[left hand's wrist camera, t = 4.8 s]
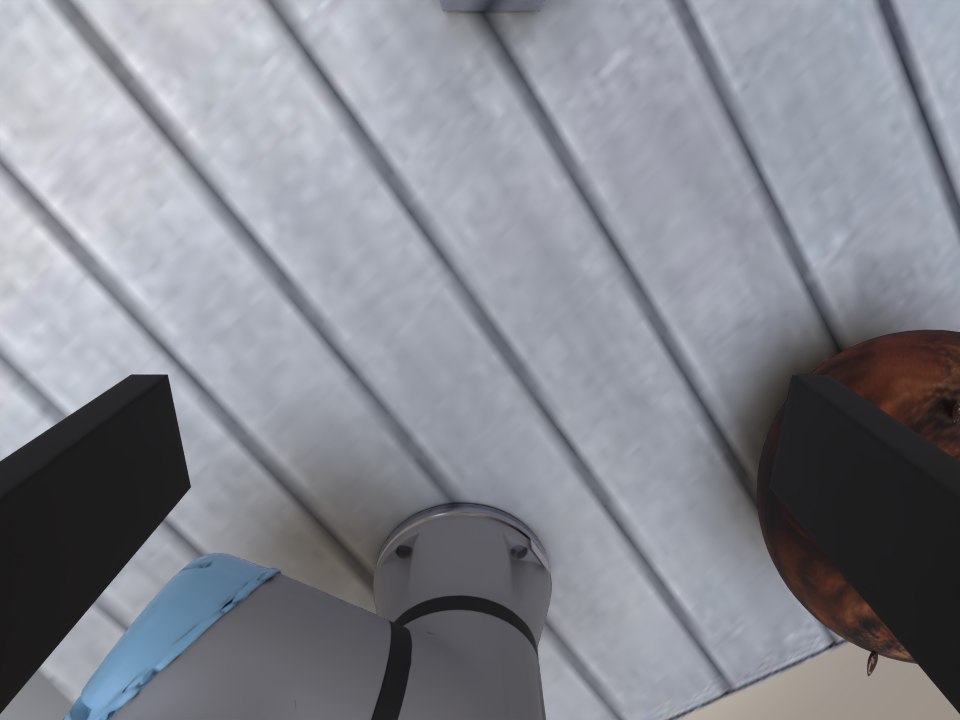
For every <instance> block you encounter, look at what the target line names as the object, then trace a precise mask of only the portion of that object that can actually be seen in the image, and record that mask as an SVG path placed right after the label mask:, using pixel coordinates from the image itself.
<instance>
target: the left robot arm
mask: <svg viewBox="0 0 960 720" xmlns="http://www.w3.org/2000/svg"><path fill="white" fill-rule="evenodd" d="M190 488H191V485H190V480H189V475H188V470H187V466H186V461H185V456H184V451H183V446H182V441H181V437H180V432H179V427H178V422H177V417H176V412H175V407H174V403H173V398H172V393H171V388H170V383H169V378H168V375H130V376H128V377H127V378H125V379H124V380H122V381H121V382H119V383H118V384H116V385H115V386H113V387H112V388H110V389H109V390H107V391H106V392H104V393H103V394H101V395H100V396H98V397H97V398H95V399H94V400H92V401H91V402H89V403H88V404H86V405H85V406H83V407H82V408H80V409H79V410H77V411H76V412H74V413H73V414H71V415H70V416H68V417H67V418H65V419H64V420H62V421H61V422H59V423H58V424H56V425H54V426H53V427H51V428H50V429H48V430H47V431H45V432H44V433H42V434H41V435H39V436H38V437H36V438H35V439H33V440H32V441H30V442H29V443H27V444H26V445H24V446H23V447H21V448H20V449H18V450H17V451H15V452H14V453H12V454H11V455H9V456H8V457H6V458H5V459H3V460H2V461H0V714H1V712H2V711H3V710H4V709H5V708H6V706H7V705H8V704H9V703H10V702H11V700H12V699H13V698H14V697H15V696H16V695H17V693H18V692H19V691H20V690H21V689H22V687H23V686H24V685H25V684H26V683H27V681H28V680H29V679H30V678H31V677H32V675H33V674H34V673H35V672H36V671H37V670H38V668H39V667H40V666H41V665H42V664H43V662H44V661H45V660H46V659H47V658H48V657H49V655H50V654H51V653H52V652H53V651H54V649H55V648H56V647H57V646H58V645H59V643H60V642H61V641H62V640H63V639H64V637H65V636H66V635H67V634H68V633H69V632H70V630H71V629H72V628H73V627H74V626H75V624H76V623H77V622H78V621H79V620H80V618H81V617H82V616H83V615H84V614H85V613H86V611H87V610H88V609H89V608H90V607H91V605H92V604H93V603H94V602H95V601H96V599H97V598H98V597H99V596H100V595H101V594H102V592H103V591H104V590H105V589H106V588H107V586H108V585H109V584H110V583H111V582H112V580H113V579H114V578H115V577H116V576H117V574H118V573H119V572H120V571H121V570H122V569H123V567H124V566H125V565H126V564H127V563H128V561H129V560H130V559H131V558H132V557H133V555H134V554H135V553H136V552H137V551H138V550H139V548H140V547H141V546H142V545H143V544H144V542H145V541H146V540H147V539H148V538H149V536H150V535H151V534H152V533H153V532H154V531H155V529H156V528H157V527H158V526H159V525H160V523H161V522H162V521H163V520H164V519H165V517H166V516H167V515H168V514H169V513H170V511H171V510H172V509H173V508H174V507H175V506H176V504H177V503H178V502H179V501H180V500H181V498H182V497H183V496H184V495H185V494H186V492H187V491H188V490H189V489H190ZM769 488H770V489H771V490H772V491H773V492H774V494H775V495H776V496H777V497H778V498H779V500H780V501H781V502H782V503H783V504H784V506H785V507H786V508H787V509H788V510H789V511H790V513H791V514H792V515H793V516H794V517H795V519H796V520H797V521H798V522H799V523H800V525H801V526H802V527H803V528H804V529H805V531H806V532H807V533H808V534H809V535H810V536H811V538H812V539H813V540H814V541H815V542H816V544H817V545H818V546H819V547H820V548H821V550H822V551H823V552H824V553H825V554H826V555H827V557H828V558H829V559H830V560H831V561H832V563H833V564H834V565H835V566H836V567H837V569H838V570H839V571H840V572H841V573H842V574H843V576H844V577H845V578H846V579H847V580H848V582H849V583H850V584H851V585H852V586H853V588H854V589H855V590H856V591H857V592H858V594H859V595H860V596H861V597H862V598H863V599H864V601H865V602H866V603H867V604H868V605H869V607H870V608H871V609H872V610H873V611H874V613H875V614H876V615H877V616H878V617H879V618H880V620H881V621H882V622H883V623H884V624H885V626H886V627H887V628H888V629H889V630H890V632H891V633H892V634H893V635H894V636H895V637H896V639H897V640H898V641H899V642H900V643H901V645H902V646H903V647H904V648H905V649H906V651H907V652H908V653H909V654H910V655H911V657H912V658H913V659H914V660H915V661H916V662H917V664H918V665H919V666H920V667H921V668H922V669H923V671H924V672H925V673H926V674H927V676H928V677H929V678H930V679H931V680H932V681H933V683H934V684H935V685H936V686H937V687H938V688H939V690H940V691H941V692H942V693H943V695H944V696H945V697H946V698H947V699H948V700H949V702H950V703H951V704H952V705H953V706H954V708H955V709H956V710H957V711H958V712H959V714H960V461H958V460H957V459H955V458H954V457H952V456H951V455H949V454H948V453H946V452H945V451H943V450H942V449H940V448H939V447H937V446H936V445H934V444H933V443H931V442H930V441H928V440H927V439H925V438H924V437H922V436H921V435H919V434H918V433H916V432H915V431H913V430H912V429H910V428H909V427H907V426H906V425H904V424H902V423H901V422H899V421H898V420H896V419H895V418H893V417H892V416H890V415H889V414H887V413H886V412H884V411H883V410H881V409H880V408H878V407H877V406H875V405H874V404H872V403H871V402H869V401H868V400H866V399H865V398H863V397H862V396H860V395H859V394H857V393H856V392H854V391H853V390H851V389H850V388H848V387H847V386H845V385H844V384H842V383H841V382H839V381H838V380H836V379H835V378H833V377H832V376H830V375H792V378H791V383H790V388H789V393H788V398H787V403H786V407H785V412H784V417H783V422H782V427H781V432H780V437H779V441H778V446H777V451H776V456H775V461H774V466H773V470H772V475H771V480H770V485H769ZM373 590H374V600H375V605H376V611H377V615H376V614H373V613H371V612H369V611H366V610H364V609H362V608H359V607H357V606H355V605H352V604H350V603H348V602H345V601H343V600H341V599H338V598H336V597H334V596H331V595H329V594H327V593H324V592H322V591H320V590H317V589H315V588H312V587H310V586H308V585H305V584H303V583H301V582H298V581H296V580H294V579H291V578H289V577H287V576H284V575H282V574H281V570H279V569H277V568H271V569H267V568H264V567H262V566H259V565H256V564H253V563H251V562H248V561H245V560H242V559H240V558H237V557H234V556H231V555H228V554H223V553H213V554H208V555H205V556H202V557H200V558H198V559H196V560H194V561H193V562H191V563H190V564H188V565H187V566H186V567H184V568H183V569H182V570H181V571H180V572H179V573H178V574H177V575H176V576H175V577H174V578H172V579H171V580H170V582H169V583H168V584H167V585H166V586H165V587H164V588H163V589H162V590H161V591H160V592H159V593H158V594H157V595H156V597H155V598H154V599H153V600H152V601H151V602H150V604H149V605H148V606H147V607H146V608H145V609H144V610H143V612H142V613H141V614H140V615H139V616H138V618H137V619H136V620H135V621H134V622H133V624H132V625H131V626H130V627H129V629H128V630H127V631H126V632H125V634H124V635H123V636H122V637H121V639H120V640H119V641H118V642H117V644H116V645H115V646H114V648H113V649H112V650H111V652H110V653H109V654H108V655H107V657H106V658H105V659H104V661H103V662H102V663H101V665H100V666H99V667H98V669H97V670H96V671H95V673H94V674H93V676H92V677H91V679H90V680H89V682H88V683H87V684H86V686H85V687H84V689H83V691H82V693H81V696H80V697H79V698H78V700H77V701H76V702H75V704H74V705H73V707H72V709H71V710H70V711H69V712H68V714H67V715H66V716H65V717H64V719H63V720H546V716H545V708H544V700H543V692H542V683H541V675H540V667H539V659H538V649H537V648H538V644H539V640H540V637H541V633H542V629H543V626H544V622H545V619H546V615H547V611H548V608H549V604H550V598H551V590H552V582H551V575H550V568H549V563H548V559H547V556H546V553H545V550H544V548H543V546H542V545H541V543H540V541H539V540H538V538H537V537H536V536H535V535H534V533H533V532H532V531H531V530H530V529H529V528H528V527H527V526H526V525H524V524H523V523H522V522H520V521H519V520H517V519H516V518H514V517H513V516H511V515H509V514H507V513H505V512H502V511H500V510H497V509H494V508H491V507H487V506H482V505H476V504H463V503H461V504H448V505H442V506H437V507H433V508H430V509H427V510H424V511H422V512H419V513H417V514H416V515H414V516H412V517H410V518H409V519H407V520H406V521H404V522H403V523H402V524H400V525H399V526H398V527H397V528H396V529H395V530H394V531H393V532H392V533H391V534H390V536H389V537H388V538H387V540H386V541H385V543H384V545H383V547H382V549H381V551H380V554H379V557H378V561H377V565H376V569H375V573H374V580H373Z"/></svg>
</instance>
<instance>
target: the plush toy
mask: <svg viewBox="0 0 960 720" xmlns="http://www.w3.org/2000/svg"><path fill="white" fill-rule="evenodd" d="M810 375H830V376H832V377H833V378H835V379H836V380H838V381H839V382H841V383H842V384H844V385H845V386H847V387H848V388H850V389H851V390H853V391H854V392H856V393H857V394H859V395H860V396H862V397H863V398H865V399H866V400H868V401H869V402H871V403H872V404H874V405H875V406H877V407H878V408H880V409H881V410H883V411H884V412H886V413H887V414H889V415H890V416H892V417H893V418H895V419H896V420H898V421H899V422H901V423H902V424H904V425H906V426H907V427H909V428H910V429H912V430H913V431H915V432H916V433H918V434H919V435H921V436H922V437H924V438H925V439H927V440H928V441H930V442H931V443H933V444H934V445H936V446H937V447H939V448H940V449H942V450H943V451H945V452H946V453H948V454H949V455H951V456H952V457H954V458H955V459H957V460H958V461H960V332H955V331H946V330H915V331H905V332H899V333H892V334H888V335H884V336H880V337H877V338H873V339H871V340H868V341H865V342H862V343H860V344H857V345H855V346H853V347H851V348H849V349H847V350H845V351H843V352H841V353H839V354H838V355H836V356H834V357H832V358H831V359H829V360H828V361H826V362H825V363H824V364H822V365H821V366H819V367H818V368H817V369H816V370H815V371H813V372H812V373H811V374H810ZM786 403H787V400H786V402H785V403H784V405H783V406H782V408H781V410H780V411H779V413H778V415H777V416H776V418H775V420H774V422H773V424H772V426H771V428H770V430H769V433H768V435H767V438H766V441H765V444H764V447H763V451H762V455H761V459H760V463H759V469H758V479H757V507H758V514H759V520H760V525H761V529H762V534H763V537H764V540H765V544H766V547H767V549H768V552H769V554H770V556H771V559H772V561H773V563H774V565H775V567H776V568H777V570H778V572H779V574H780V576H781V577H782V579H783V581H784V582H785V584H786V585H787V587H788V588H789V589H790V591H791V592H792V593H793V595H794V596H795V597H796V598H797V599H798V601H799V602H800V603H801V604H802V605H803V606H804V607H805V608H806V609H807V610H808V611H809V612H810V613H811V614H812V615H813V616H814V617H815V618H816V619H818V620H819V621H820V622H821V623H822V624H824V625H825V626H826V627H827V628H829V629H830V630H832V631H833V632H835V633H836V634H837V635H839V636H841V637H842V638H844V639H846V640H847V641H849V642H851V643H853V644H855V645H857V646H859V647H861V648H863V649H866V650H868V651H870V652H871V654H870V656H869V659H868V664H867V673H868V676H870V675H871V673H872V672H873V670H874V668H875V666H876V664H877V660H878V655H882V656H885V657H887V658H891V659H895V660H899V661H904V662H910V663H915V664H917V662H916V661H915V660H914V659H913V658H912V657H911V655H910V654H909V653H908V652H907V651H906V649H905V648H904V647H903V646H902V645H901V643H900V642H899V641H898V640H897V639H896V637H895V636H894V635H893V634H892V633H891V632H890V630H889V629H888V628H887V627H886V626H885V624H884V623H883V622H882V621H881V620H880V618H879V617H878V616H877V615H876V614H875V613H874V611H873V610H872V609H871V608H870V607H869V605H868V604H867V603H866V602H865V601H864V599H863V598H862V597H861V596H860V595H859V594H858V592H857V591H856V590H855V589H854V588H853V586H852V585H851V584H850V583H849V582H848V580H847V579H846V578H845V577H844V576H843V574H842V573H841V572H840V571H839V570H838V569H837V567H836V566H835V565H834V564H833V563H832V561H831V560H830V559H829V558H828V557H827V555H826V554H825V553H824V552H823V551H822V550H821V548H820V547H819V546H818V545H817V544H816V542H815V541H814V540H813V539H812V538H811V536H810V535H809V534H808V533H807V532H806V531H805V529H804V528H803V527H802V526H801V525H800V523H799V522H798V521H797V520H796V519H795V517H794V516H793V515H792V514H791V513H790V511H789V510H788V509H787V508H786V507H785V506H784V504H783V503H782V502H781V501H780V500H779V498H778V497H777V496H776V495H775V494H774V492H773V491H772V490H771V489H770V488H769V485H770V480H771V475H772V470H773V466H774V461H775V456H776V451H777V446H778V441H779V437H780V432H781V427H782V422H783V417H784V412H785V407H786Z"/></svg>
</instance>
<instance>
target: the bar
mask: <svg viewBox="0 0 960 720" xmlns="http://www.w3.org/2000/svg"><path fill="white" fill-rule="evenodd" d="M544 1H545V0H440V2H441V6H442V10H443V11H540V9H541V7H542V5H543V3H544Z"/></svg>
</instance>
